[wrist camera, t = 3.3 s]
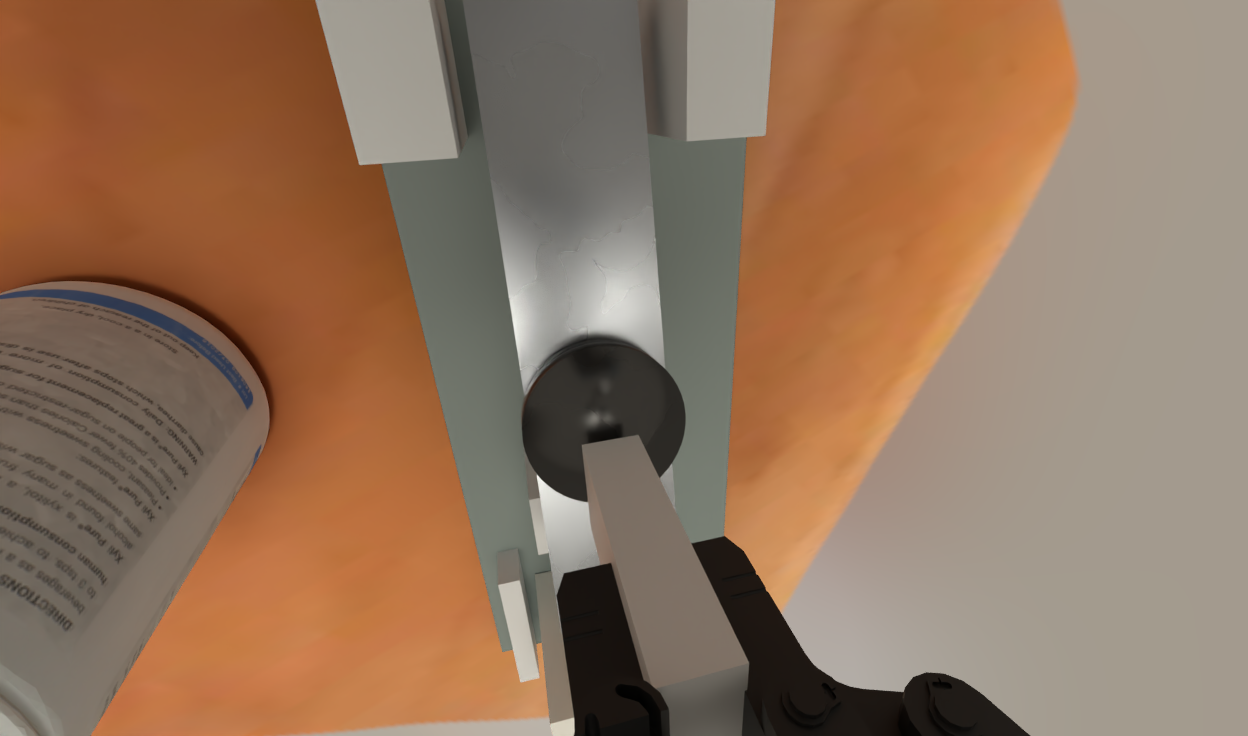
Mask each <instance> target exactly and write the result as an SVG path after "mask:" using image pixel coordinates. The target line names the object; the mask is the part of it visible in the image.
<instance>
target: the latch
mask: <svg viewBox="0 0 1248 736" xmlns="http://www.w3.org/2000/svg"><path fill="white" fill-rule="evenodd" d="M535 581H536V591H537V601H538V610H539V620H540V630H541V640H542V649H543V659H544V669H545V679H546V688H547V698H548V708H549V718H550V725H551V731H552V736H574V732H575V729H574V713H573V706H572V699H571V692H570V685H569V678H568V671H567V664H566V657H565V650H564V643H563V636H562V634H561V629H560V622H559V616H558V609H557V603H556V596H555V590H554V584H553V577H552V571H548V572H544V573H539V574H535Z"/></svg>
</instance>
